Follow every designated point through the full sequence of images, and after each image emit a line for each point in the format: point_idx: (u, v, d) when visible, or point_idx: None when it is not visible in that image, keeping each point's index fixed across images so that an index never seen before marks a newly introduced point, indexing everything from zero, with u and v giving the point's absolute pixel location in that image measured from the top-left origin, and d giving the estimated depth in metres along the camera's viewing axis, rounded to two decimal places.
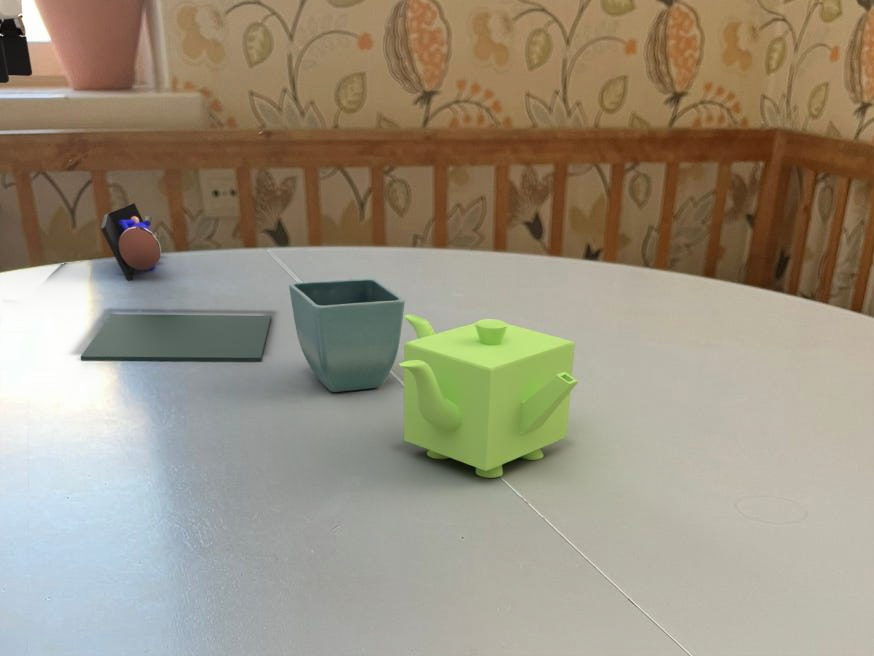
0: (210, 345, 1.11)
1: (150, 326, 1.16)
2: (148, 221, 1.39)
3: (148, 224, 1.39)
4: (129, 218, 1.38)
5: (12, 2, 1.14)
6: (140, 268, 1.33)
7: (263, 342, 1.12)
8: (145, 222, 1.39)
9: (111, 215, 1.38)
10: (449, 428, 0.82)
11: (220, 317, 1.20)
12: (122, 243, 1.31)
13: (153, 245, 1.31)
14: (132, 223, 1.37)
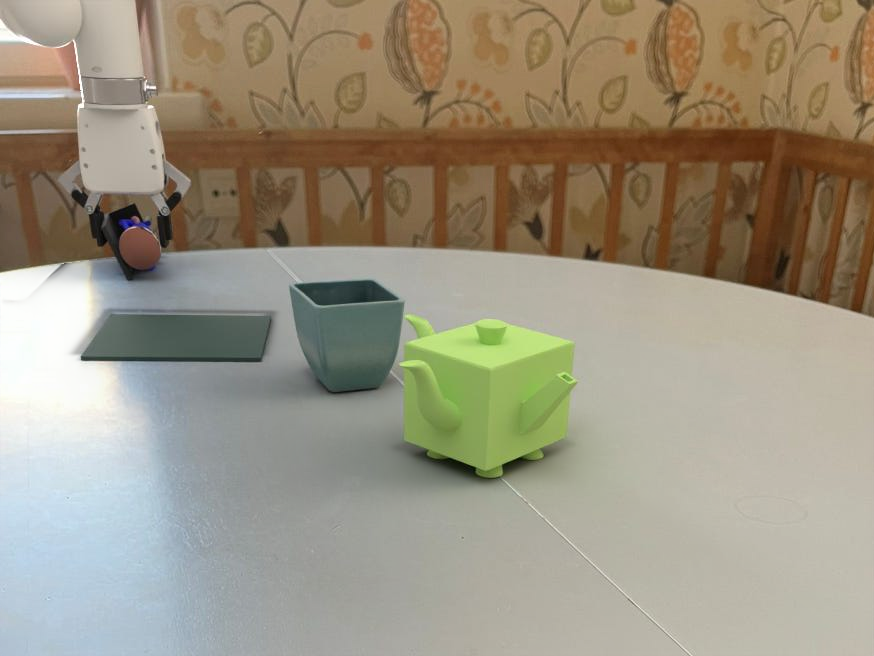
0: (210, 345, 1.11)
1: (150, 326, 1.16)
2: (148, 221, 1.39)
3: (148, 224, 1.39)
4: (129, 218, 1.38)
5: (118, 181, 1.31)
6: (140, 268, 1.33)
7: (263, 342, 1.12)
8: (145, 222, 1.39)
9: (111, 215, 1.38)
10: (449, 428, 0.82)
11: (220, 317, 1.20)
12: (122, 243, 1.31)
13: (153, 245, 1.31)
14: (132, 223, 1.37)
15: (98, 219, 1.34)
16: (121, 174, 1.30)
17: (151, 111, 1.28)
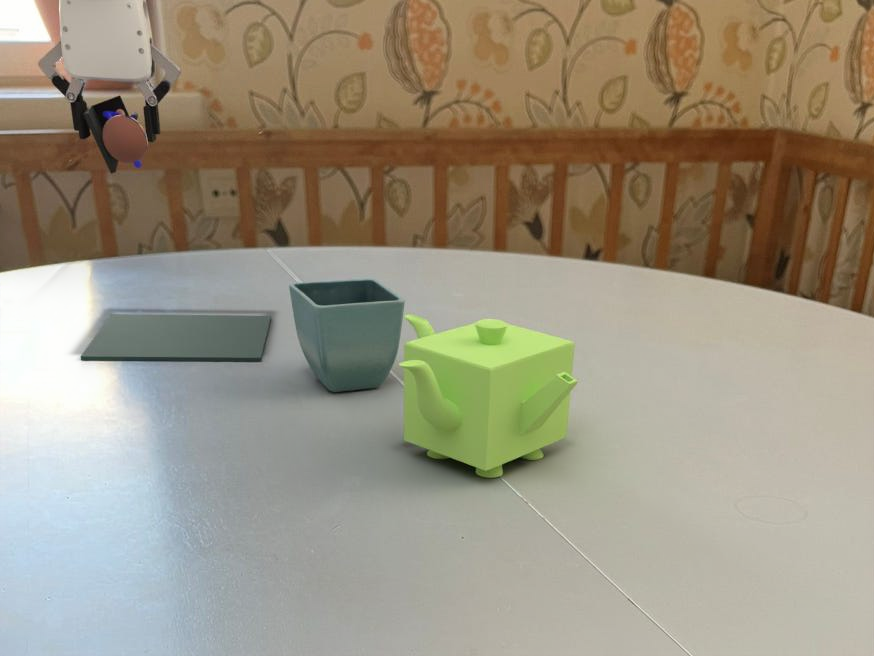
0: (210, 345, 1.11)
1: (150, 326, 1.16)
2: (134, 116, 1.31)
3: (134, 119, 1.31)
4: (114, 112, 1.30)
5: (102, 66, 1.23)
6: (125, 160, 1.25)
7: (263, 342, 1.12)
8: (131, 117, 1.31)
9: (95, 108, 1.29)
10: (449, 428, 0.82)
11: (220, 317, 1.20)
12: (106, 131, 1.23)
13: (139, 135, 1.23)
14: None
15: (80, 108, 1.25)
16: (106, 58, 1.22)
17: None
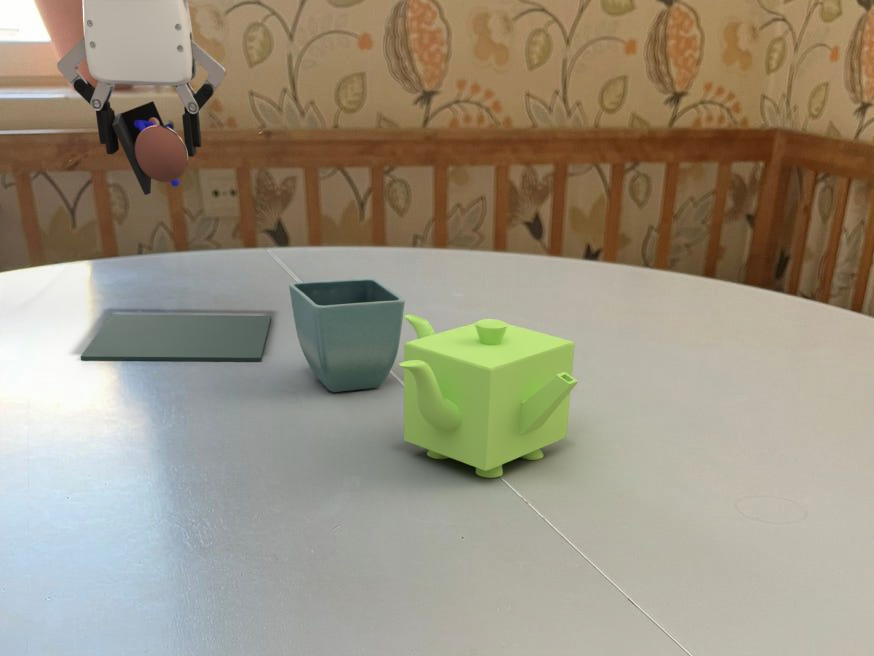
0: (210, 345, 1.11)
1: (150, 326, 1.16)
2: (170, 125, 1.11)
3: (170, 129, 1.11)
4: (146, 121, 1.10)
5: (134, 67, 1.03)
6: (162, 179, 1.05)
7: (263, 342, 1.12)
8: (167, 126, 1.11)
9: (124, 116, 1.09)
10: (449, 428, 0.82)
11: (220, 317, 1.20)
12: (139, 145, 1.03)
13: (178, 149, 1.03)
14: (151, 126, 1.09)
15: (108, 118, 1.05)
16: (138, 57, 1.02)
17: None
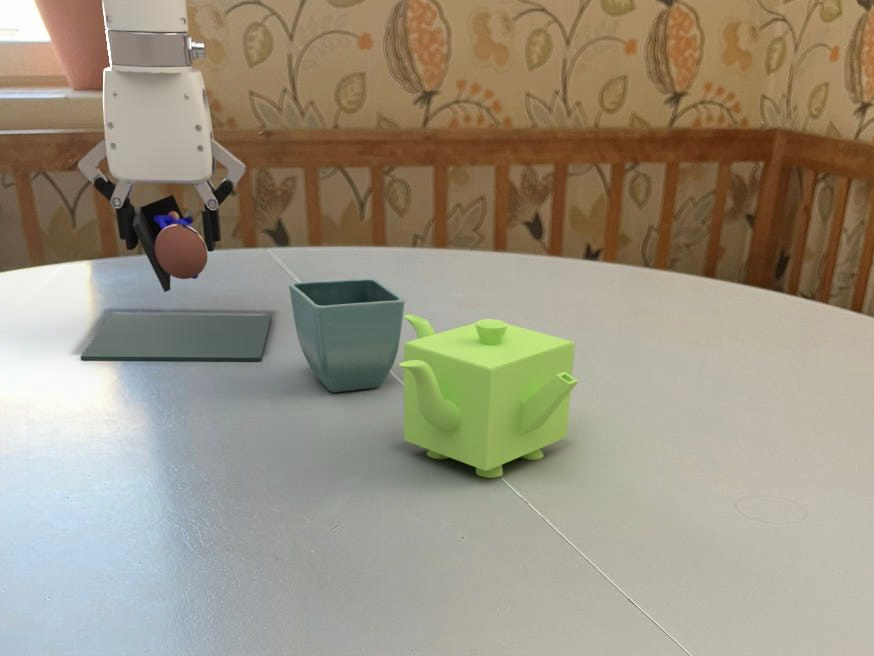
0: (210, 345, 1.11)
1: (150, 326, 1.16)
2: (190, 218, 1.10)
3: (190, 221, 1.11)
4: (166, 214, 1.10)
5: (154, 167, 1.03)
6: (182, 277, 1.05)
7: (263, 342, 1.12)
8: (186, 219, 1.10)
9: (144, 210, 1.09)
10: (449, 428, 0.82)
11: (220, 317, 1.20)
12: (159, 245, 1.02)
13: (198, 248, 1.03)
14: (170, 220, 1.09)
15: (128, 215, 1.05)
16: (158, 157, 1.02)
17: (197, 76, 1.00)
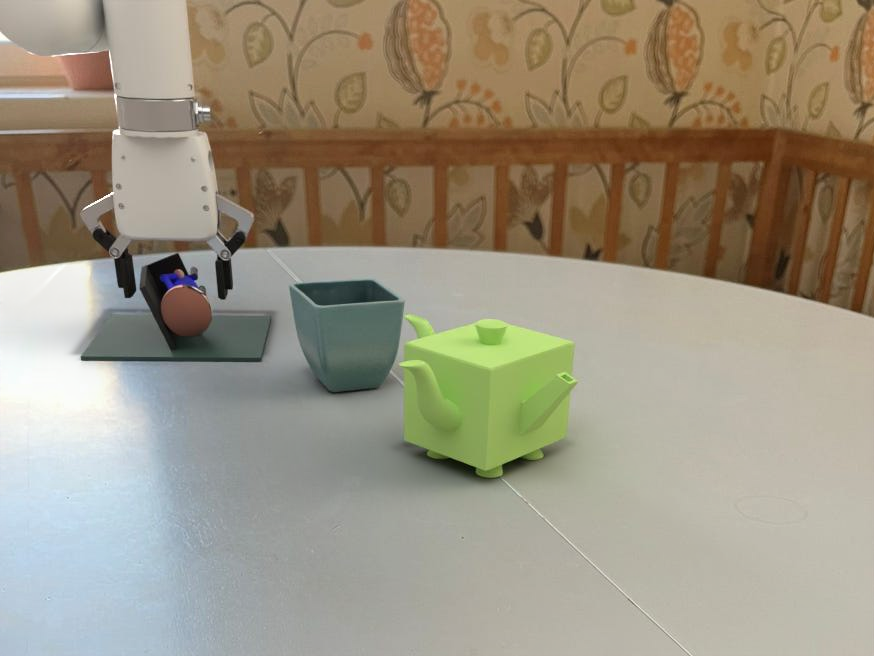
0: (210, 345, 1.11)
1: (150, 326, 1.16)
2: (195, 275, 1.14)
3: (195, 278, 1.14)
4: (172, 271, 1.13)
5: (161, 225, 1.05)
6: (187, 335, 1.08)
7: (263, 342, 1.12)
8: (191, 276, 1.14)
9: (150, 268, 1.13)
10: (449, 428, 0.82)
11: (220, 317, 1.20)
12: (165, 306, 1.06)
13: (203, 308, 1.06)
14: (176, 278, 1.12)
15: (126, 265, 1.08)
16: (165, 217, 1.05)
17: (203, 139, 1.03)
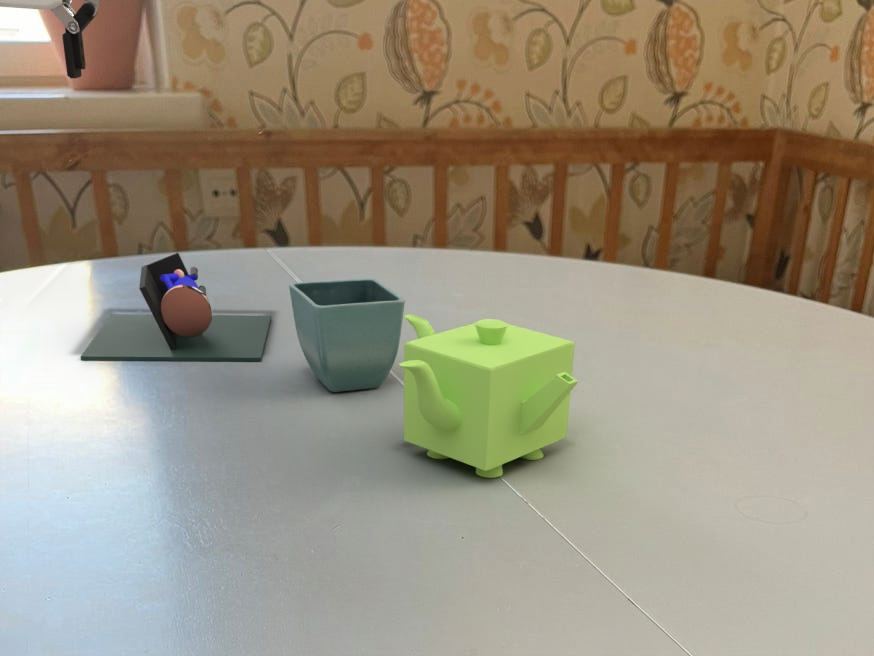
0: (210, 345, 1.11)
1: (150, 326, 1.16)
2: (195, 274, 1.14)
3: (195, 278, 1.14)
4: (172, 271, 1.13)
5: None
6: (187, 335, 1.08)
7: (263, 342, 1.12)
8: (191, 276, 1.14)
9: (150, 268, 1.13)
10: (449, 428, 0.82)
11: (220, 317, 1.20)
12: (165, 306, 1.06)
13: (203, 308, 1.06)
14: (176, 278, 1.12)
15: None
16: None
17: None
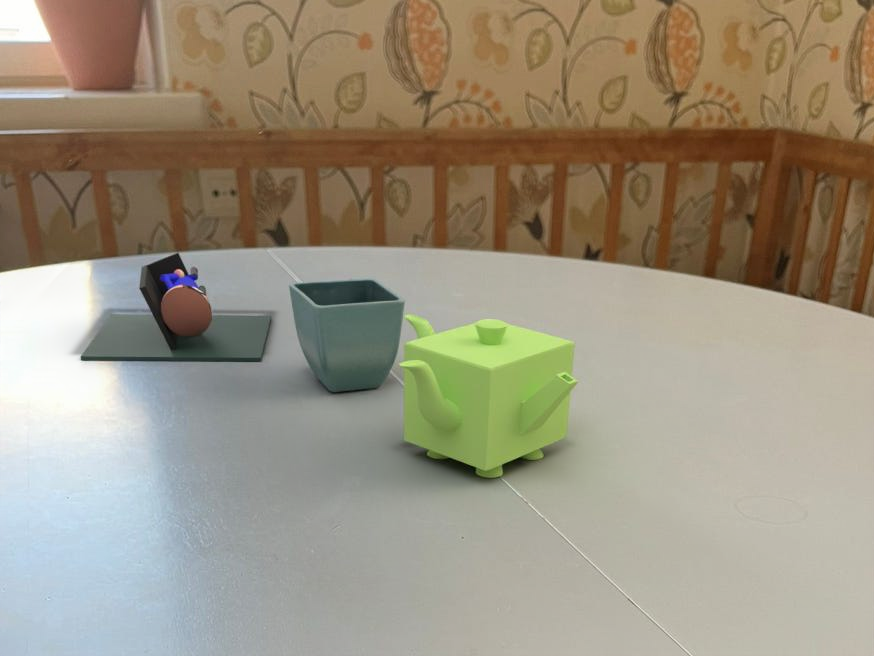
0: (210, 345, 1.11)
1: (150, 326, 1.16)
2: (195, 275, 1.14)
3: (195, 278, 1.14)
4: (172, 271, 1.13)
5: None
6: (187, 335, 1.08)
7: (263, 342, 1.12)
8: (191, 276, 1.14)
9: (150, 268, 1.13)
10: (449, 428, 0.82)
11: (220, 317, 1.20)
12: (165, 306, 1.06)
13: (203, 308, 1.06)
14: (176, 278, 1.12)
15: None
16: None
17: None
